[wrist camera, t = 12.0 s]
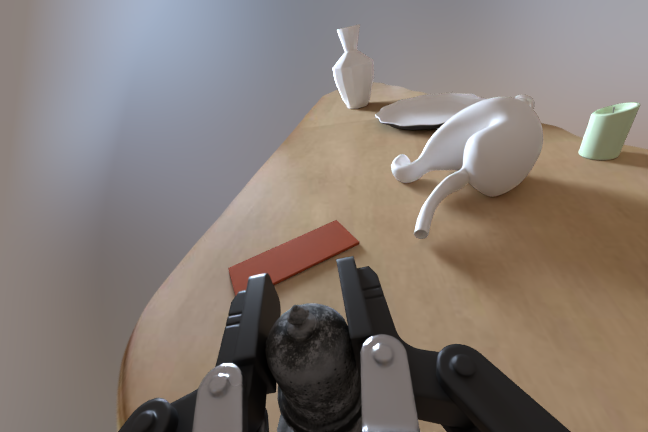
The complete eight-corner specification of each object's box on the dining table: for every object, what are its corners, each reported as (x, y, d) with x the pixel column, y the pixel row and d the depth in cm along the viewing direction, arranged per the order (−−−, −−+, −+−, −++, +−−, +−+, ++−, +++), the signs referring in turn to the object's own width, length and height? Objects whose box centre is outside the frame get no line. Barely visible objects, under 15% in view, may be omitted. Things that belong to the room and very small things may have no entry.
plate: (485, 132, 63) (487, 121, 62) (363, 136, 76) (362, 127, 75) (488, 97, 83) (489, 88, 82) (391, 104, 97) (390, 97, 96)
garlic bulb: (493, 122, 67) (496, 98, 64) (512, 115, 68) (517, 91, 65) (513, 126, 63) (517, 101, 60) (534, 119, 64) (539, 94, 61)
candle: (575, 157, 47) (592, 108, 43) (581, 146, 50) (597, 99, 46) (616, 162, 44) (638, 109, 40) (620, 150, 47) (642, 99, 42)
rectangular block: (336, 221, 45) (336, 219, 45) (359, 243, 40) (359, 241, 40) (229, 270, 41) (228, 268, 40) (237, 302, 35) (236, 300, 35)
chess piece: (300, 395, 17) (230, 252, 11) (395, 389, 17) (381, 232, 10) (288, 537, 13) (148, 431, 6) (421, 537, 12) (426, 416, 5)
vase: (376, 107, 98) (369, 22, 84) (337, 113, 101) (324, 32, 87) (376, 97, 110) (370, 21, 96) (340, 103, 113) (329, 31, 99)
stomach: (405, 181, 60) (396, 269, 43) (382, 127, 54) (361, 207, 37) (534, 146, 49) (590, 248, 32) (525, 72, 42) (590, 151, 25)
